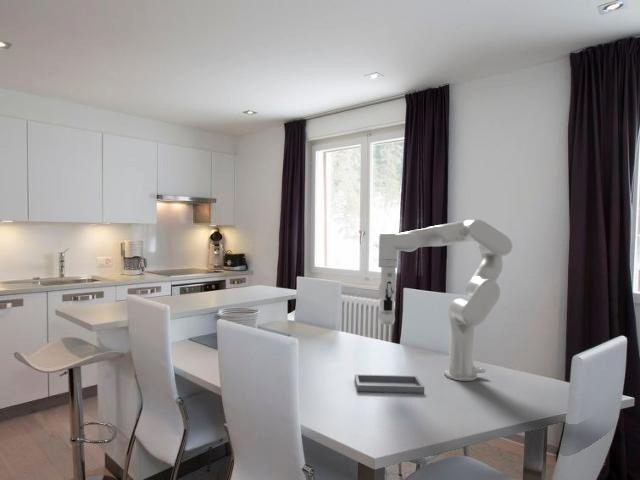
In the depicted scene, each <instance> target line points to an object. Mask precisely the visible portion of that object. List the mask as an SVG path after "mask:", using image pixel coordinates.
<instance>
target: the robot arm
mask: <svg viewBox="0 0 640 480" xmlns="http://www.w3.org/2000/svg"><path fill="white" fill-rule="evenodd" d="M378 237H379V238H378V239H379V240H378V268H380V271H381V272H380V284H381V283H382V287H383V292H384V293H385V300H384V310H385V311H392V291H393V293H395V294H396V291H397V287H396V286H397V285H396V283H397V281H396V280H397V278H396V277H397V274H396V273H397V272H396V269H397V268H398V267H399V265H398V264H399V263H398V261H399V251H403V252H406V253H407V252H408V253H410V252H414V251H416V250H417V249H418V248H423V247H425V248H426V247H445V246H449V245H455V244H459V243H465V242H471V241H472V242H476V243H478V248H479V251H480V255H481V261H480V264H479V266H478V268H477V269H476V271H475V272H474V274H473V275H472V277H470V279H469V281H468V282H467V284H466V286H465V293H466V295H467V296H468V297H469V299H468V298H462V297H460V298H455V299H454V300H453V301H451V303H450V304H449V308H448V319H449V345H448V349H449V350H448V368H447V369H445V370H444V376H445V377H447V378H449V379H451V380H456V381H463V382H472V381H475V380H476V379H478V373H479V374H486V368H485V367H483V368H482V367H480V366H474V358H475V357H474V352H475V349H474V348H475V327H478V326H480V325H481V324H483V322H485V320H486V319H487V317H488V316H489V315H490V313H491V312H492V310H493V308H495V306H496V304H497V302H498V301H499V299H500V296H501V289H500V288H501V287H500V285H499V284H498V282H496V281H497V280H498V279H499V276H500V275H501V273H502V270H503V264H504V263H503V257H506V256H508V255H509V254H510V253H511V252H512V250H513V242H512V240H511V239H510V237H508V236H507V235H506V234H504V233H503V232H501V231H500V230H498V229H497V228H495V226H494V227H493V226H492V225H491V224H489V223H487V222H486V221H484V220H481V219H465V220H460V221H455V222H450V223H443V224H438V225H434V226H428V227H425V228H421V229H414V230H409V231H408V230H407V231H404V232H400V233H396V232H381V233H380V234H379V236H378ZM389 274H390V275H389ZM386 290H388V292H386ZM386 294H387V295H386Z"/></svg>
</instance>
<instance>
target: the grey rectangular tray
mask: <svg viewBox="0 0 640 480" xmlns="http://www.w3.org/2000/svg"><path fill="white" fill-rule="evenodd" d="M354 385H355V388H356V393H364V394H365V393H367V394H368V393H369V394H399V395H401V394H407V395H425V386H424V384H423V383H422V382H421V380H420V379H419V377H418V376H417V375H392V374H391V375H390V374H356V373H355V374H354Z"/></svg>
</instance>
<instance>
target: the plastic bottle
mask: <svg viewBox="0 0 640 480" xmlns="http://www.w3.org/2000/svg"><path fill="white" fill-rule="evenodd" d="M389 275H390V274H389ZM378 292H379V293H378V294H379V309H378V310H379V312H378V316H377V317H378V318H377V320H378V323H379V324H380V325H385V326H390V325H391V326H392V325H394V324H395V321H396V317H395V308H394V304H395V294H396V292H395V293H393V291H392V311H385V310H384V300H385V293H384V292H383V287H382V283H381V282H380V284H379V286H378ZM386 292H388V290H386ZM386 295H387V294H386Z"/></svg>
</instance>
